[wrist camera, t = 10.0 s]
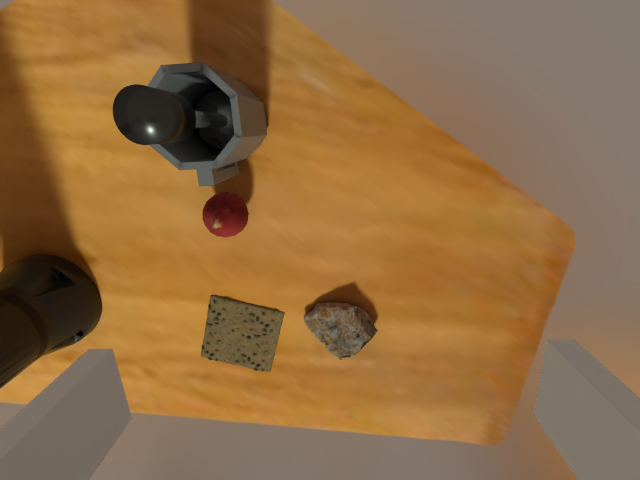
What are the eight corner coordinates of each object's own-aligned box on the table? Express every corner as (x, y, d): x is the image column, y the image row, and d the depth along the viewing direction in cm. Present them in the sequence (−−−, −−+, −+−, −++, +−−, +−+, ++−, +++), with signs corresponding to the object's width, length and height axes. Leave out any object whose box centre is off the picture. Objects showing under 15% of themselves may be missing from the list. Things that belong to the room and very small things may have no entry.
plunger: (201, 150, 43) (107, 165, 25) (192, 93, 41) (83, 66, 23) (253, 147, 43) (194, 160, 25) (246, 90, 41) (178, 60, 23)
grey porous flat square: (271, 371, 58) (270, 375, 57) (201, 355, 58) (198, 358, 57) (286, 310, 54) (285, 313, 53) (211, 292, 54) (209, 295, 53)
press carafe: (204, 173, 48) (156, 190, 35) (190, 84, 44) (131, 67, 31) (271, 170, 47) (247, 185, 34) (263, 80, 44) (233, 60, 31)
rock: (382, 316, 54) (333, 285, 50) (386, 348, 49) (332, 316, 46) (346, 342, 58) (298, 315, 55) (346, 374, 53) (294, 346, 50)
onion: (208, 193, 49) (184, 205, 41) (247, 184, 48) (230, 195, 40) (220, 231, 50) (200, 250, 43) (258, 223, 50) (244, 241, 42)
